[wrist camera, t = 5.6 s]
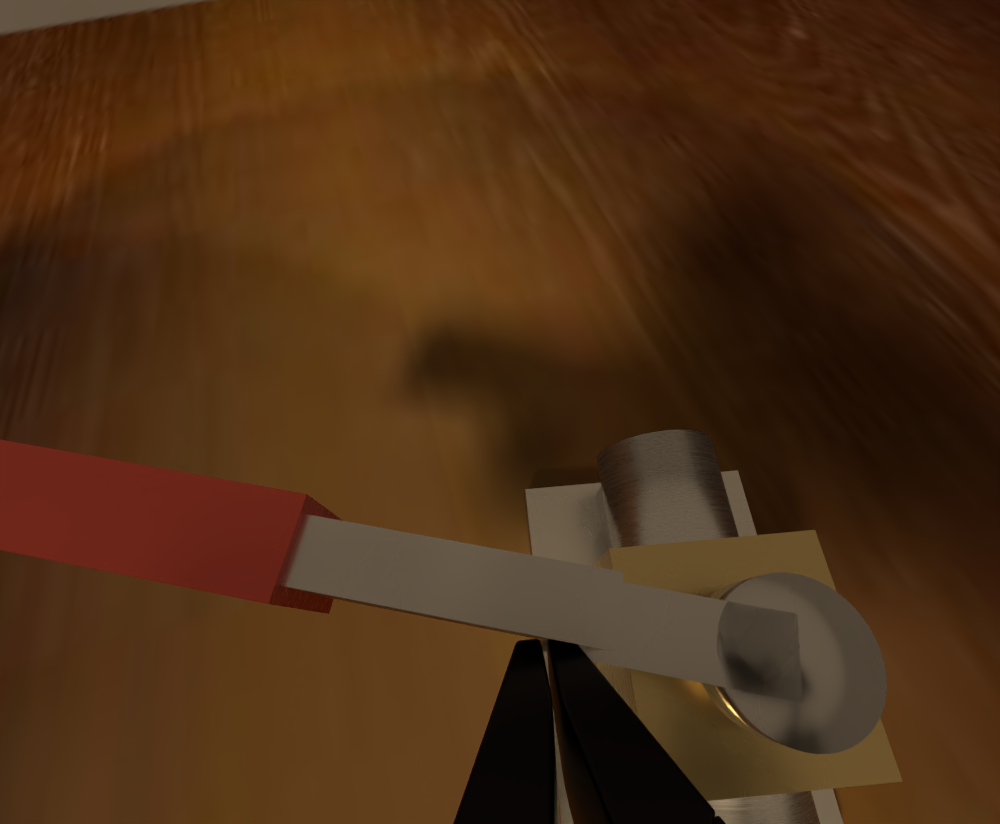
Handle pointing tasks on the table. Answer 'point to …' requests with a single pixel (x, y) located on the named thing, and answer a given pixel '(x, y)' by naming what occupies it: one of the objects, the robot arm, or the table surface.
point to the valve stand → (702, 571)
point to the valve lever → (456, 587)
